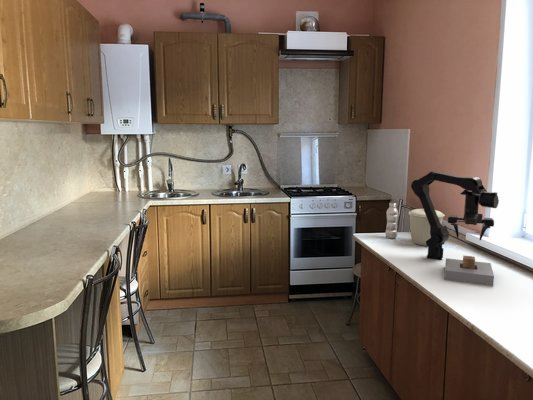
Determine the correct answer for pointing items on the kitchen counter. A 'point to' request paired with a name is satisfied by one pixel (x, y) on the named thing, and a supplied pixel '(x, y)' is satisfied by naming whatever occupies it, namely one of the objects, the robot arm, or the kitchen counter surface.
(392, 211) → the plastic bottle
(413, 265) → the kitchen counter surface
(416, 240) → the canister
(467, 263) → the walnut post
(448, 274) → the well block
